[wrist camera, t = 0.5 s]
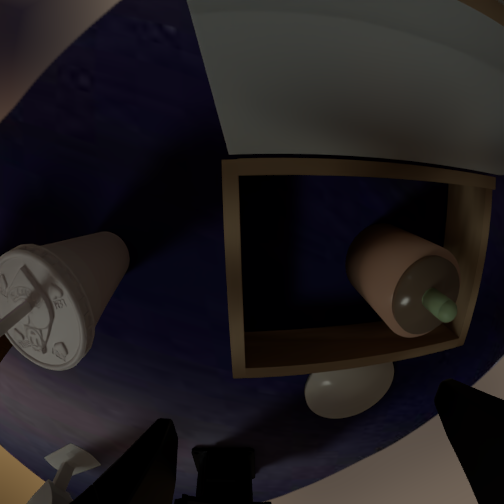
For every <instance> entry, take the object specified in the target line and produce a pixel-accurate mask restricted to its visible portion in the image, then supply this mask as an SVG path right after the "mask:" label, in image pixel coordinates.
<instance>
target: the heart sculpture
mask: <svg viewBox="0 0 504 504" xmlns="http://www.w3.org/2000/svg"><path fill="white" fill-rule="evenodd" d="M44 458H45V459H46V460H47V461H48V462H49V463H50V464H51V465H52V466H53V467H54V468H55V469H57V470H58V471H57V473H56V476H55V478H54V480H53V482H52V481H50V480H49V479H48V480H47V481H46V482H45V483H44V485H43V486H42V487H41V488H40V489H39V490H38V491H37V492H36V493H35V494H34V495H33V496H32V498H31V499H30V500H29V501H28V503H27V504H69V503H71V502H72V501H73V500H72V499H71V496H70V494H69V493H68V492H66V488H67V486H68V483H69V481H70V479H71V476H72V475H75V474H78V473H81V472H83V471H86V470H89V469H92V468H95V467H97V466H100V465H101V464H100V463H99V462H98V461H97V460H96V459H95V458H94V457H93V456H92V455H91V454H90V453H88V452H86V451H85V450H83V449H81V448H79V447H77V446H75V445H73V444H71V443H70V444H68V445H67V446H65V447H63V448H61V449H59V450H58V451H56V452H54V453H52V454H50V455H48V456H46V457H44Z"/></svg>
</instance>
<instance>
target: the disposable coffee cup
mask: <svg viewBox="0 0 504 504" xmlns="http://www.w3.org/2000/svg"><path fill="white" fill-rule="evenodd" d="M11 347H12V343H11V342H10V341H9V339H8V338H7V337H6V335H5V334H4V335H3V336H1V337H0V362H1V361H2V359H3V358H4V357H5V355H6V354H7V352H8V351H9V349H10V348H11Z"/></svg>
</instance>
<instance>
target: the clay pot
mask: <svg viewBox="0 0 504 504" xmlns="http://www.w3.org/2000/svg"><path fill="white" fill-rule="evenodd" d="M345 267H346V273H347V277H348V279H349V281H350V283H351V284H352V285H353V287H354V288H355V289H356V290H357V291H358V292H359V293H360V294H361V296H362V297H363V298H364V299H365V300H366V301H367V302H368V303H369V305H370V306H371V307H372V308H373V309H374V310H375V311H376V313H377V314H378V315H379V316H380V317H381V318H382V319H383V321H384V322H385V323H386V324H387V325H388V326H389V327H390V329H391V330H392V331H393V332H394V333H396V334H398V335H400V336H402V337H411V338H412V337H418V336H422V335H424V334H426V333H428V332H430V331H432V330H433V329H435V328H436V327H438V326H439V325H440V324H441V323H442V322H444V323H448V322H451V321H452V320H453V319H454V318H455V317H456V315H457V306H456V304H455V303H456V301H457V298H458V294H459V290H460V282H461V274H460V268H459V265H458V262H457V260H456V258H455V257H454V255H453V254H452V253H451V252H450V251H448V250H447V249H445V248H443V247H441V246H438V245H436V244H434V243H432V242H430V241H428V240H425V239H423V238H421V237H419V236H416V235H414V234H412V233H410V232H407V231H405V230H403V229H400V228H398V227H396V226H393V225H391V224H386V223H379V224H374V225H371V226H369V227H367V228H365V229H364V230H363V231H361V232H360V233H359V234H358V235H357V236H356V237H355V238H354V240H353V241H352V243H351V245H350V247H349V249H348V252H347V256H346V264H345Z"/></svg>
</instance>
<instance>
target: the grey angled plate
mask: <svg viewBox="0 0 504 504" xmlns="http://www.w3.org/2000/svg"><path fill="white" fill-rule="evenodd" d="M187 3H188V7H189V10H190V14H191V18H192V21H193V25H194V28H195V32H196V36H197V39H198V43H199V47H200V50H201V54H202V58H203V61H204V65H205V69H206V72H207V76H208V80H209V83H210V87H211V91H212V94H213V98H214V102H215V105H216V109H217V113H218V116H219V120H220V124H221V128H222V131H223V135H224V139H225V142H226V146H227V150H228V153H229V155H233V154H323V155H345V156H361V157H374V158H386V159H397V160H406V161H415V162H423V163H431V164H438V165H445V166H452V167H458V168H464V169H470V170H475V171H481V172H486V173H491V174H496V175H504V0H187Z"/></svg>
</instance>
